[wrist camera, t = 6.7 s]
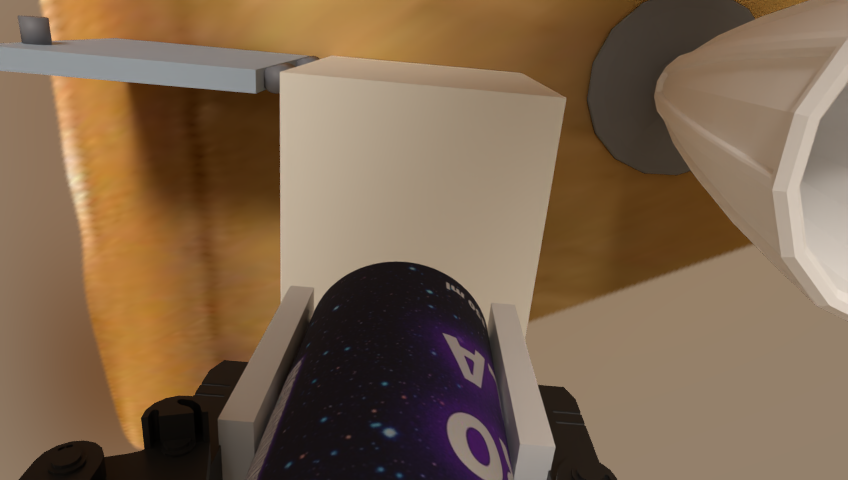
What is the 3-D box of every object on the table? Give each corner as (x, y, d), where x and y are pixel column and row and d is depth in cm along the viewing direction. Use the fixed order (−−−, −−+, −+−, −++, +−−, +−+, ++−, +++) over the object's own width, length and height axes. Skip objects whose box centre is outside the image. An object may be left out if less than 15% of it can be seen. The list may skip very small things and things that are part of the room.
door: (113, 17, 35) (-31, 14, 24) (327, 37, 35) (280, 42, 24) (117, 56, 35) (-21, 71, 25) (326, 75, 36) (281, 98, 25)
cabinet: (331, 55, 36) (279, 72, 24) (521, 72, 36) (566, 97, 24) (326, 259, 41) (281, 360, 29) (492, 274, 41) (518, 379, 29)
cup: (764, 163, 38) (1144, 323, 18) (589, 185, 38) (761, 364, 18) (778, -26, 34) (1293, -99, 14) (582, 3, 34) (795, -26, 14)
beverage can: (420, 427, 20) (405, 929, 9) (283, 345, 19) (69, 803, 8) (521, 312, 19) (656, 756, 7) (376, 215, 17) (274, 562, 6)
